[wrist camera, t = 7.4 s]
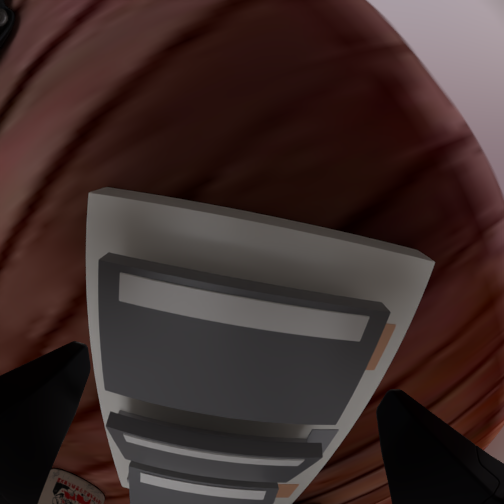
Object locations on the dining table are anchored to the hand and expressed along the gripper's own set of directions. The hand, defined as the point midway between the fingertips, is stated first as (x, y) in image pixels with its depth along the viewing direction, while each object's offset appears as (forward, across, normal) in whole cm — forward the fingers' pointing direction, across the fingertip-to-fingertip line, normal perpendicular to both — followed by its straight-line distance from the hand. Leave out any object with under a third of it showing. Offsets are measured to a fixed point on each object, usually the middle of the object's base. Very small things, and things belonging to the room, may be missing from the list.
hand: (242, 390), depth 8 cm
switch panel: (+9, 0, +11) cm, 14 cm away
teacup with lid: (+9, +18, +36) cm, 41 cm away
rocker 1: (+5, 0, +2) cm, 5 cm away
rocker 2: (+5, 0, +11) cm, 12 cm away
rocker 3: (+4, 0, +20) cm, 21 cm away
